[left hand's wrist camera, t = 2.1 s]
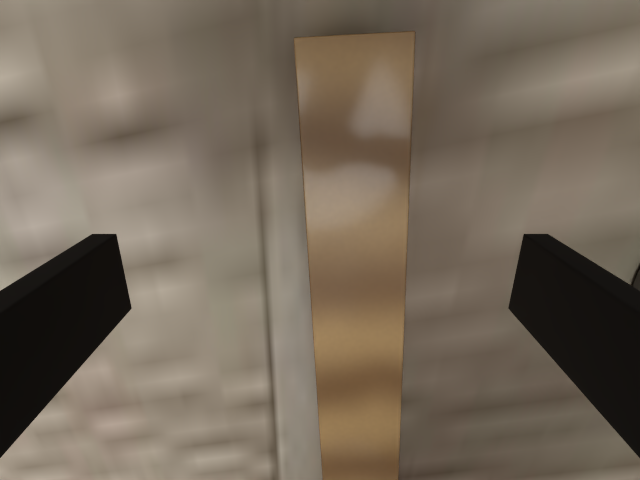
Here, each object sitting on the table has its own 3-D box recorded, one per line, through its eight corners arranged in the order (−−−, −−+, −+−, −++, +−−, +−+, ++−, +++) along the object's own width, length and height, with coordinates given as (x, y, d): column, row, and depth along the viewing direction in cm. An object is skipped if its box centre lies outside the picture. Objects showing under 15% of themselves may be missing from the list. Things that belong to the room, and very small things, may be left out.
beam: (302, 54, 25) (293, 37, 17) (384, 50, 25) (415, 30, 17) (332, 561, 45) (335, 665, 37) (378, 559, 45) (391, 663, 37)
